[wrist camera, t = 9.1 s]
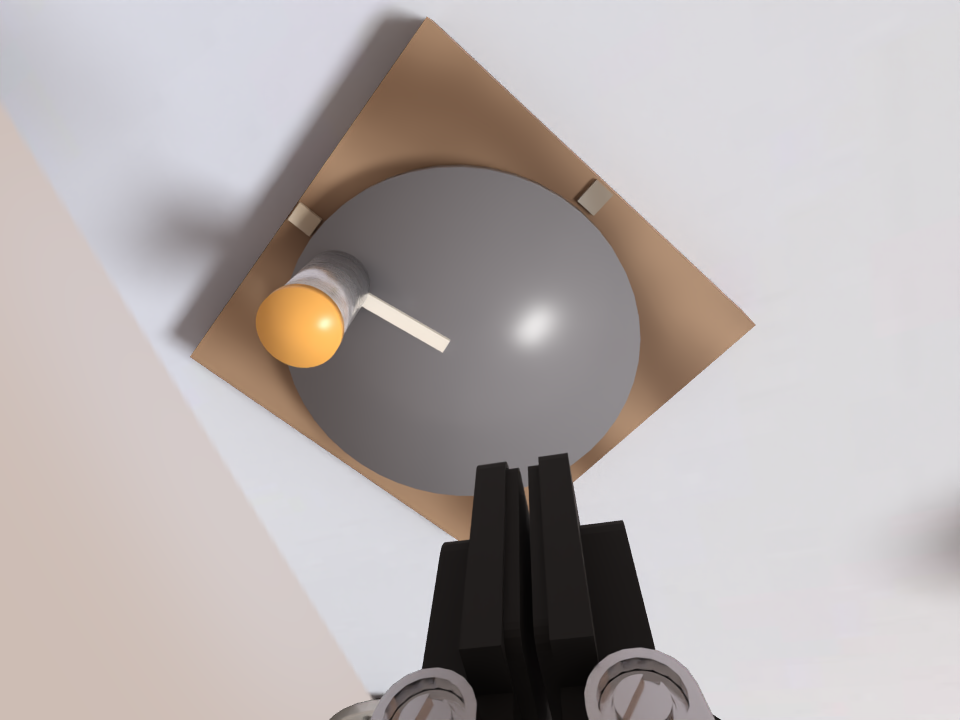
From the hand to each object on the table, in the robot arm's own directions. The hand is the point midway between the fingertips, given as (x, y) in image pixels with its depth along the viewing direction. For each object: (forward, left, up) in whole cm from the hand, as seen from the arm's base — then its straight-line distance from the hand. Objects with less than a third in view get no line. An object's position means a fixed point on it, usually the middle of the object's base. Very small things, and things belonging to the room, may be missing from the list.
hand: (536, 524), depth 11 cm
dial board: (-5, -1, -21) cm, 21 cm away
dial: (-5, -1, -19) cm, 20 cm away
